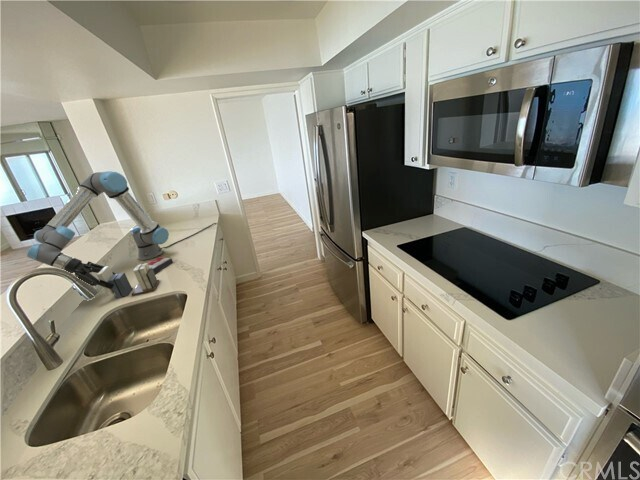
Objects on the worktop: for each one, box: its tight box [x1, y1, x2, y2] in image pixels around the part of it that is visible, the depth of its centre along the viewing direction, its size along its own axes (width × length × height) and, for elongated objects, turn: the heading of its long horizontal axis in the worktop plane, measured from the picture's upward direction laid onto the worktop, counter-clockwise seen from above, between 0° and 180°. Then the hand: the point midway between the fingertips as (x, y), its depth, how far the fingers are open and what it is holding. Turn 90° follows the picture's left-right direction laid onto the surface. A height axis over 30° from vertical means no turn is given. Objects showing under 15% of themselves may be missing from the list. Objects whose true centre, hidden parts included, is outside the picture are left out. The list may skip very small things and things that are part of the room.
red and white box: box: [147, 257, 173, 275], centre depth 172 cm, size 11×4×15 cm
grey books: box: [108, 272, 133, 299], centre depth 145 cm, size 7×5×11 cm
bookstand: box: [131, 262, 160, 297], centre depth 147 cm, size 11×11×14 cm
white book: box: [96, 265, 114, 296], centre depth 142 cm, size 9×2×13 cm, turn 16°
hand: (116, 282), depth 144 cm, fingers closed on white book, 9 cm apart
